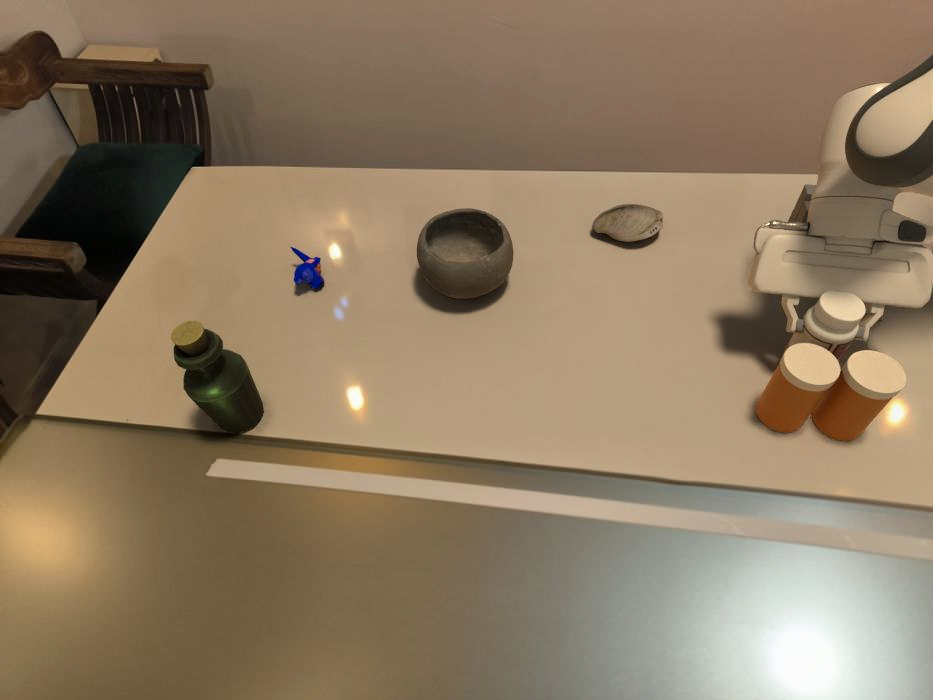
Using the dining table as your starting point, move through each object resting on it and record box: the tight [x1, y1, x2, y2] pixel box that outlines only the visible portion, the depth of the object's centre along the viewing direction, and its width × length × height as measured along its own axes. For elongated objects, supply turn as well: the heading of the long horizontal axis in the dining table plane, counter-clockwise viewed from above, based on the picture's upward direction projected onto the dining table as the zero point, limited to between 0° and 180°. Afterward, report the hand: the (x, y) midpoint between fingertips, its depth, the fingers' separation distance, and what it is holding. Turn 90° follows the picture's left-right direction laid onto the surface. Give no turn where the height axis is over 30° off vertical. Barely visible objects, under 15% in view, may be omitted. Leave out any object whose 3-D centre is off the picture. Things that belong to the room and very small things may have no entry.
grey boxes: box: [783, 184, 817, 230], centre depth 95 cm, size 5×9×10 cm, turn 78°
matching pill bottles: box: [755, 343, 907, 442], centre depth 75 cm, size 6×13×11 cm, turn 78°
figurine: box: [290, 246, 325, 290], centre depth 99 cm, size 5×8×5 cm, turn 12°
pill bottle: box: [784, 291, 866, 361], centre depth 78 cm, size 6×6×11 cm
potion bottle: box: [170, 319, 265, 434], centre depth 78 cm, size 8×8×18 cm
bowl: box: [416, 207, 514, 299], centre depth 95 cm, size 15×15×10 cm
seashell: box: [591, 203, 664, 243], centre depth 101 cm, size 12×8×5 cm
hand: (826, 336), depth 77 cm, fingers closed on pill bottle, 6 cm apart
